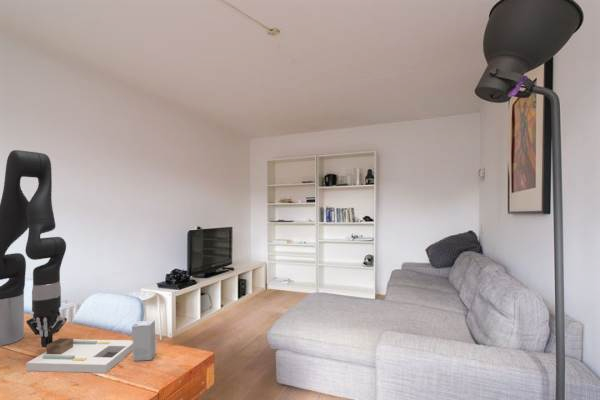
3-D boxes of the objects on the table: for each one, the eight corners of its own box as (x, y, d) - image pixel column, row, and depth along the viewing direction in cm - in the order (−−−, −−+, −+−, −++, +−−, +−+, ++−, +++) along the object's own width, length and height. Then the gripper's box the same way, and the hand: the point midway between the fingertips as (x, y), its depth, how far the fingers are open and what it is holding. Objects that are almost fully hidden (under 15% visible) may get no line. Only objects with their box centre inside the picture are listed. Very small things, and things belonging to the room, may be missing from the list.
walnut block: (46, 354, 99) (46, 345, 99) (59, 346, 104) (59, 338, 104) (60, 354, 98) (60, 345, 98) (73, 346, 103) (73, 338, 103)
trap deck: (26, 370, 93) (26, 360, 93) (68, 346, 109) (68, 337, 109) (105, 372, 92) (105, 362, 92) (136, 347, 108) (136, 338, 108)
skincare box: (156, 354, 103) (156, 319, 103) (151, 361, 99) (150, 324, 99) (137, 355, 103) (137, 320, 103) (131, 362, 98) (131, 325, 98)
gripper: (17, 299, 98) (17, 351, 98) (55, 299, 97) (55, 352, 97) (38, 292, 105) (38, 340, 105) (74, 292, 105) (74, 341, 105)
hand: (46, 346), depth 101 cm, fingers closed
